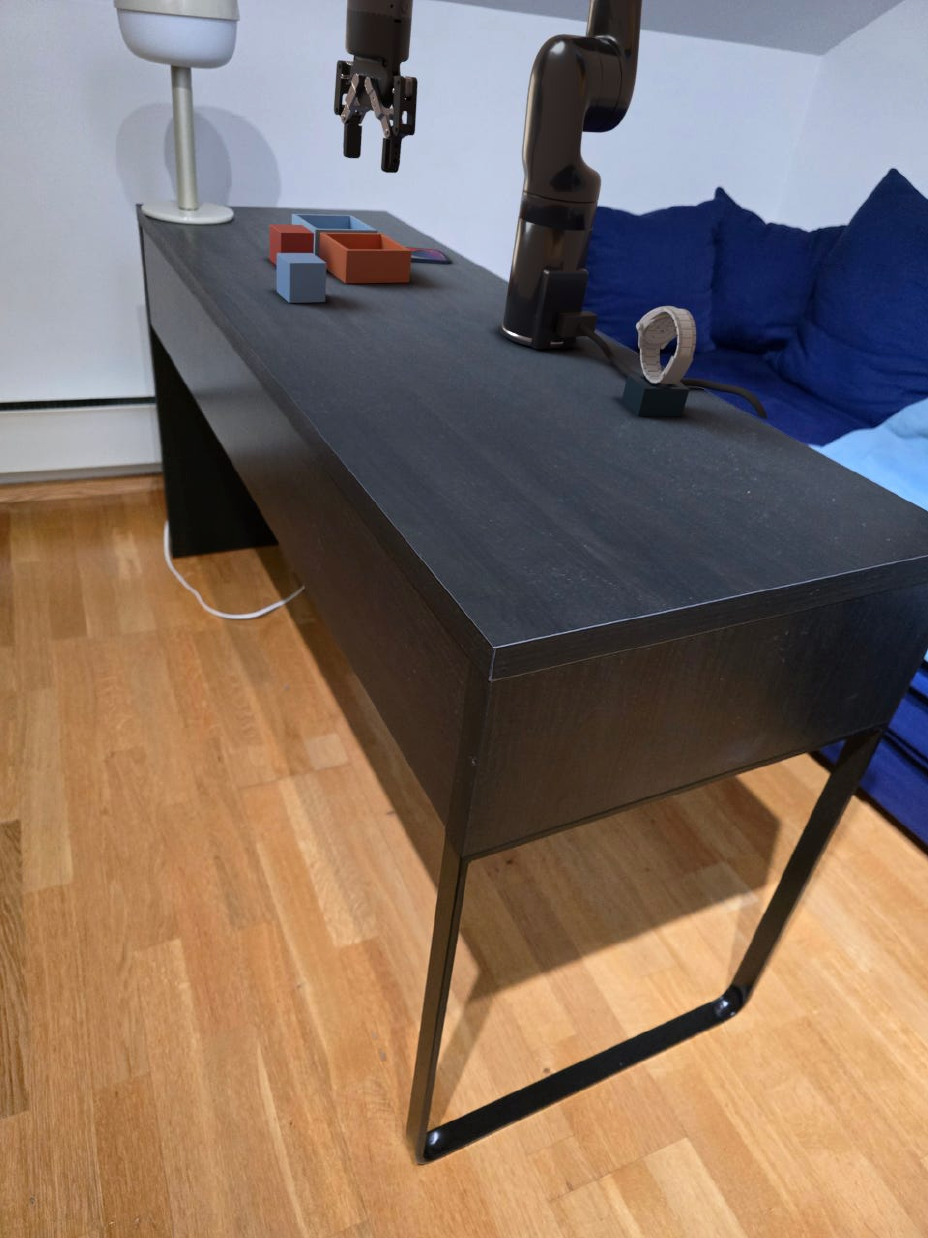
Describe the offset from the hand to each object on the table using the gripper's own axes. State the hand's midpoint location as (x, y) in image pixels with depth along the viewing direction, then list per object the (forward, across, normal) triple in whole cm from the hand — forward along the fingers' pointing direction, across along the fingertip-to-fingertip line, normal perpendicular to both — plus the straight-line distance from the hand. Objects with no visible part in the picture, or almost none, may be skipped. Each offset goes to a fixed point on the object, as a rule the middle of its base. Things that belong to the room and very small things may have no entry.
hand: (370, 164), depth 111 cm
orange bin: (+17, -12, +8) cm, 22 cm away
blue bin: (+17, -23, +10) cm, 31 cm away
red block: (+17, -18, -1) cm, 25 cm away
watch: (+16, +44, +10) cm, 48 cm away
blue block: (+17, -3, -8) cm, 19 cm away
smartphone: (+17, -20, +20) cm, 33 cm away
